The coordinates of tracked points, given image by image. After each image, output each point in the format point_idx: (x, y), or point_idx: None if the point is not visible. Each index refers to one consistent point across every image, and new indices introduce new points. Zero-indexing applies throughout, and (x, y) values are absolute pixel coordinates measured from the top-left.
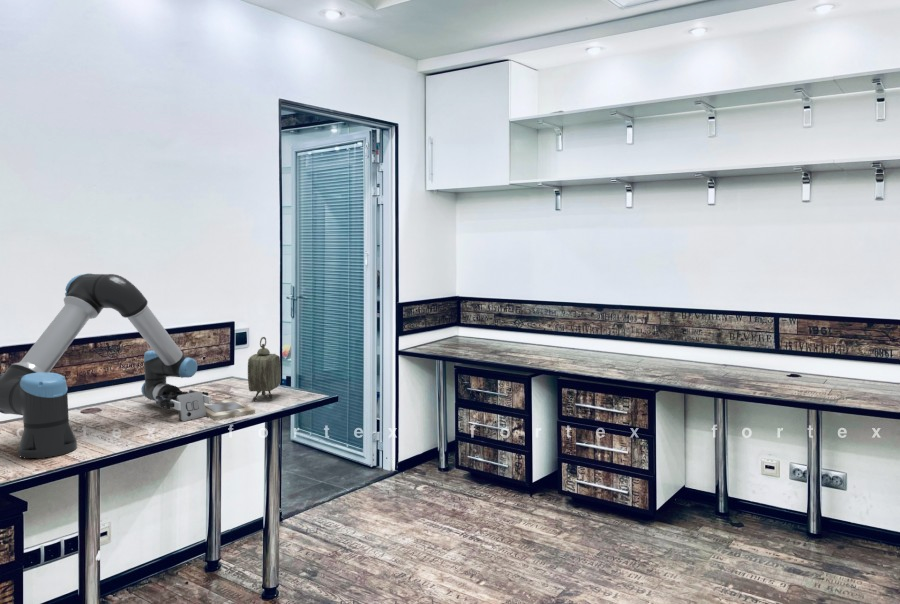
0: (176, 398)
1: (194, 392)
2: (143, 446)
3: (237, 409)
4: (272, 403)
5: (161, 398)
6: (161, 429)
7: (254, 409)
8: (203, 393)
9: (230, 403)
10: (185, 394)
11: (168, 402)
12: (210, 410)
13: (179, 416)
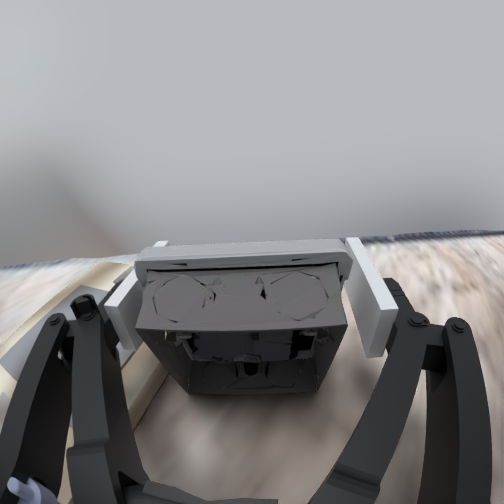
0: (340, 315)
1: (193, 247)
2: (444, 236)
3: (104, 287)
4: (2, 304)
5: (467, 424)
6: (418, 306)
7: (99, 261)
8: (91, 303)
9: (26, 351)
10: (282, 241)
11: (409, 308)
12: (144, 344)
13: (319, 378)
